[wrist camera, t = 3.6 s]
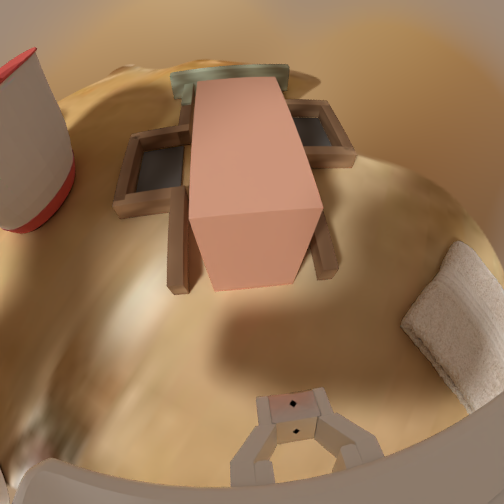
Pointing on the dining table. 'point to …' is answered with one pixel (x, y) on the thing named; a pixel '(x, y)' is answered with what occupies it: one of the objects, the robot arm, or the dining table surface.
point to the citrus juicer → (31, 147)
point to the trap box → (171, 159)
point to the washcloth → (462, 327)
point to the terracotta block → (249, 185)
